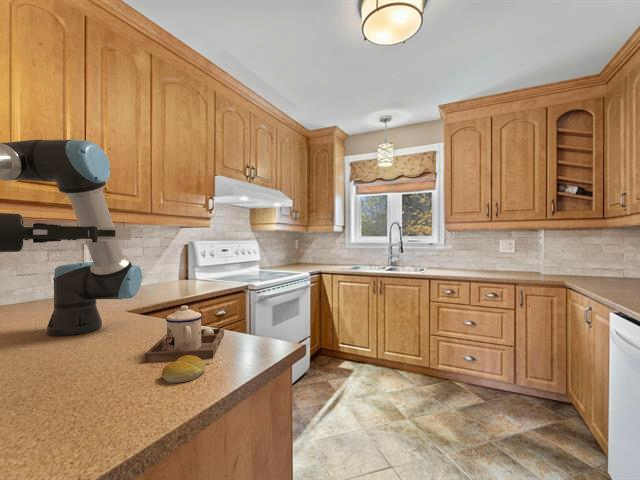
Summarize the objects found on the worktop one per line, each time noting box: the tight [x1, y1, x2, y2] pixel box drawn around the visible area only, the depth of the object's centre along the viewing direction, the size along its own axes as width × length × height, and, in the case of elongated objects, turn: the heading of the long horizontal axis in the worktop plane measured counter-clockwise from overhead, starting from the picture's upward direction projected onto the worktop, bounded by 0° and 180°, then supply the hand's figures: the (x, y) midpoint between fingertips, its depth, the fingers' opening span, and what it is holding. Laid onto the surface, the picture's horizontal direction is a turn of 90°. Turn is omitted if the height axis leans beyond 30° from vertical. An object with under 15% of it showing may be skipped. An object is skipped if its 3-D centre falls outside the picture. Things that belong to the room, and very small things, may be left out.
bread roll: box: [161, 355, 206, 384], centre depth 72 cm, size 8×9×4 cm
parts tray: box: [144, 327, 225, 363], centre depth 89 cm, size 21×16×3 cm
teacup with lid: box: [165, 305, 203, 351], centre depth 86 cm, size 12×9×12 cm
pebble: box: [204, 328, 214, 335], centre depth 96 cm, size 3×3×3 cm
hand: (119, 234), depth 77 cm, fingers open, 13 cm apart
